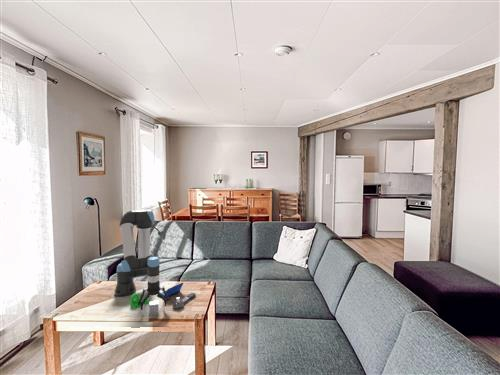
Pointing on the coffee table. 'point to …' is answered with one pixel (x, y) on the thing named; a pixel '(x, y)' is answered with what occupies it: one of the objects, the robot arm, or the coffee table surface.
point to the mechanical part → (135, 302)
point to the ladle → (182, 301)
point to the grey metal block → (153, 308)
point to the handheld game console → (172, 290)
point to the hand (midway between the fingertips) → (153, 312)
